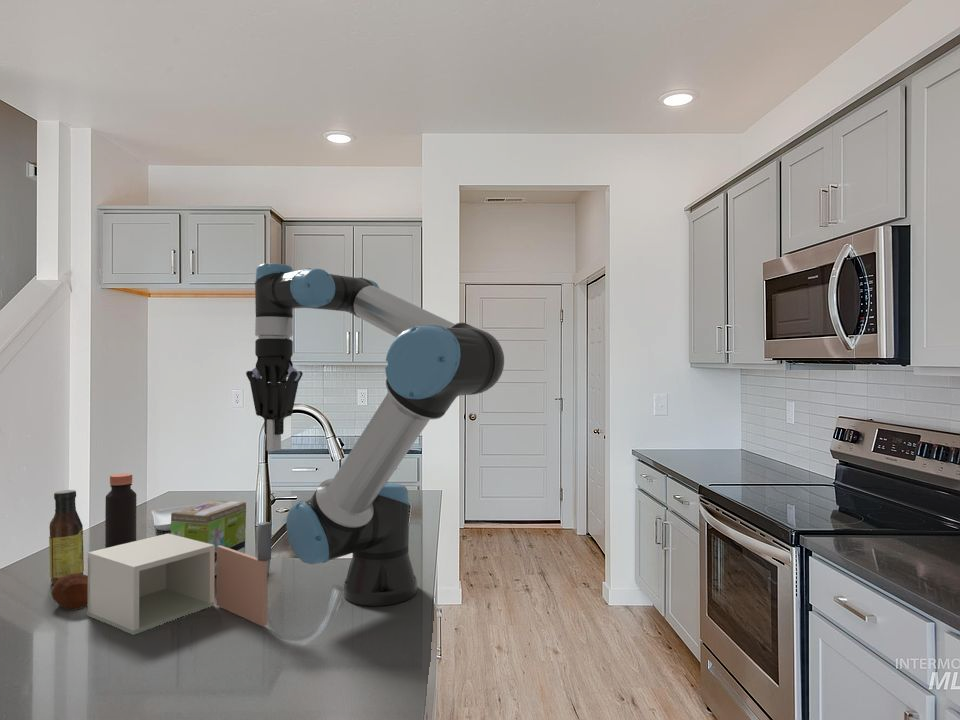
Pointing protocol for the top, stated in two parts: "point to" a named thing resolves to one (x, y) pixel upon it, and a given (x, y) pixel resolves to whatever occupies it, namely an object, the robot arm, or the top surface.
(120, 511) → the vinegar
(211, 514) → the tea box
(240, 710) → the top surface
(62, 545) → the sauce bottle
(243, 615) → the side door
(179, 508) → the salad plate
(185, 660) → the top surface
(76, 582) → the potato
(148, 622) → the case
